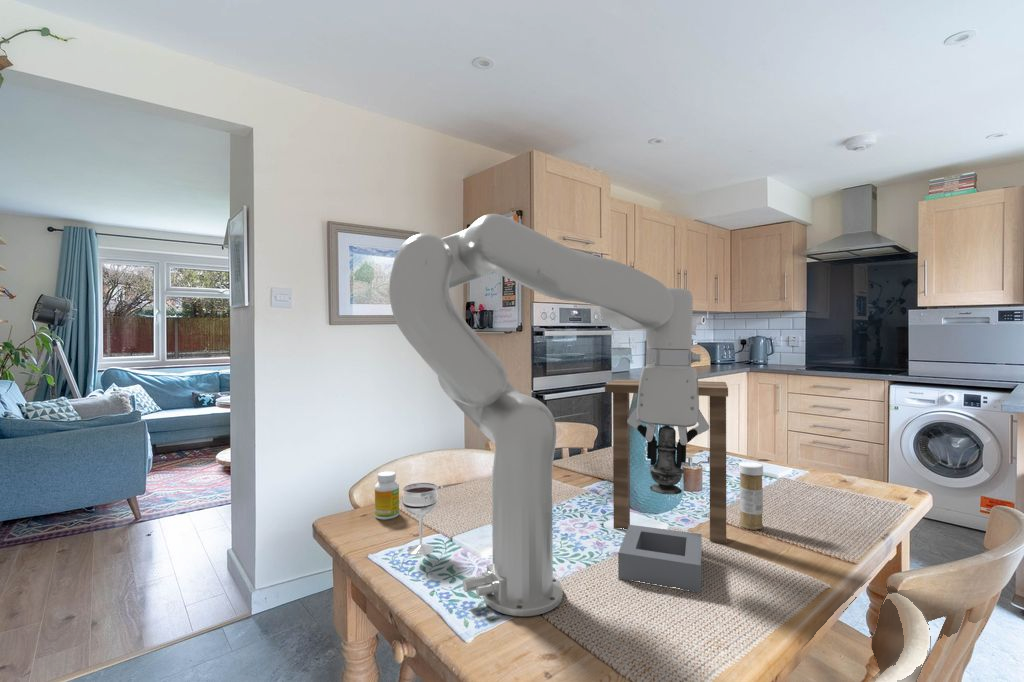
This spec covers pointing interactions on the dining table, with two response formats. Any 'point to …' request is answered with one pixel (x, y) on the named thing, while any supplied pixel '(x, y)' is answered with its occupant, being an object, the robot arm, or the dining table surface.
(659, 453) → the salt shaker
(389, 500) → the supplement bottle
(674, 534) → the socket block
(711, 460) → the canopy
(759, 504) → the sprinkles bottle
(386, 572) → the dining table surface
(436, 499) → the wineglass
